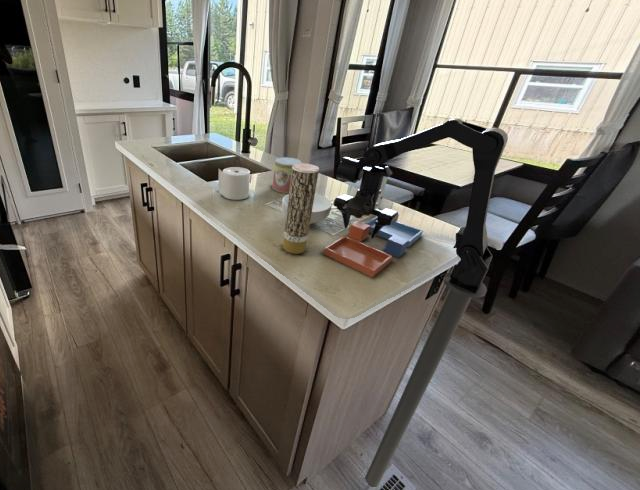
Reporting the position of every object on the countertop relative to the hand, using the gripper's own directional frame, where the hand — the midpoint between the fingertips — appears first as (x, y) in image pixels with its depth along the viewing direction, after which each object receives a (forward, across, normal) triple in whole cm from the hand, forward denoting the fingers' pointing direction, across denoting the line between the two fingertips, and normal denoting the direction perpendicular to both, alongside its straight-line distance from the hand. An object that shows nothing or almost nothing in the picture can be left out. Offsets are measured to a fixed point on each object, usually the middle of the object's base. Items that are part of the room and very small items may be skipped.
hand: (358, 233), depth 104 cm
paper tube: (+2, -9, -22) cm, 24 cm away
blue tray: (+2, +6, +12) cm, 13 cm away
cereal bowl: (+2, -19, -3) cm, 19 cm away
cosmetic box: (+2, -9, +24) cm, 26 cm away
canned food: (+2, -43, +16) cm, 46 cm away
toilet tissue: (+2, -51, -7) cm, 51 cm away
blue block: (+2, +12, 0) cm, 12 cm away
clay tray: (+2, +6, -12) cm, 13 cm away
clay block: (+2, 0, 0) cm, 2 cm away
